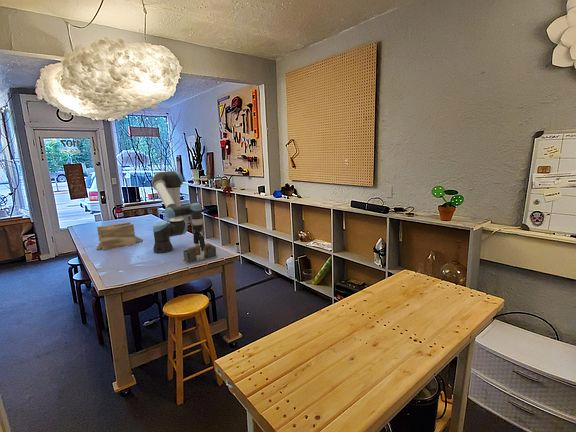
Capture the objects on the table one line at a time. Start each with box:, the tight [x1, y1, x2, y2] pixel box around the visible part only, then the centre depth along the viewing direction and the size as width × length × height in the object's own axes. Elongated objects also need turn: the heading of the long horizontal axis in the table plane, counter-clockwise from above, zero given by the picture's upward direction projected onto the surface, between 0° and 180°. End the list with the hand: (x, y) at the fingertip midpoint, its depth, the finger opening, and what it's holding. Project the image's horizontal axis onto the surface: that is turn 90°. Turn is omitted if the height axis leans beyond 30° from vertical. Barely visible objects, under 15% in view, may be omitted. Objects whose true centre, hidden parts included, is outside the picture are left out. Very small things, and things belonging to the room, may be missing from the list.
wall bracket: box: [95, 224, 144, 251], centre depth 273 cm, size 22×4×30 cm
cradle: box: [96, 221, 137, 251], centre depth 272 cm, size 14×26×18 cm, turn 130°
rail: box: [186, 243, 212, 256], centre depth 230 cm, size 4×17×6 cm, turn 130°
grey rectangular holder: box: [182, 244, 218, 265], centre depth 231 cm, size 10×23×8 cm, turn 130°
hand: (200, 253), depth 231 cm, fingers open, 8 cm apart
